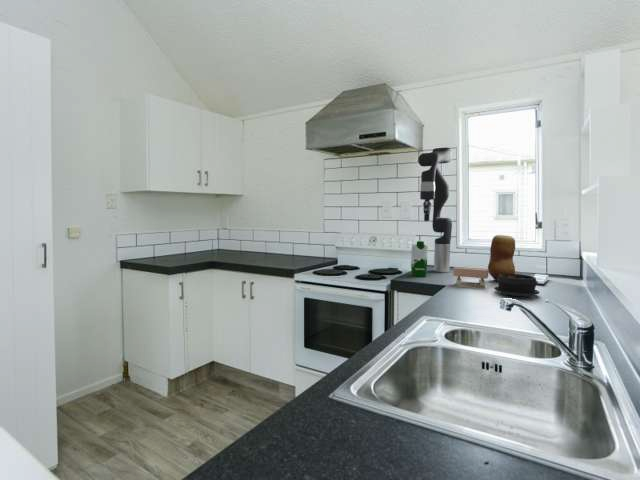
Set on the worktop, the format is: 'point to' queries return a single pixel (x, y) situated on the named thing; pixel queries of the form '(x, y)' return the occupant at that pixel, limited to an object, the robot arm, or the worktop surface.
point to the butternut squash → (501, 256)
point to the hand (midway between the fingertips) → (426, 220)
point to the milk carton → (419, 259)
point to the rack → (479, 284)
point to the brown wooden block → (470, 272)
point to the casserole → (517, 285)
